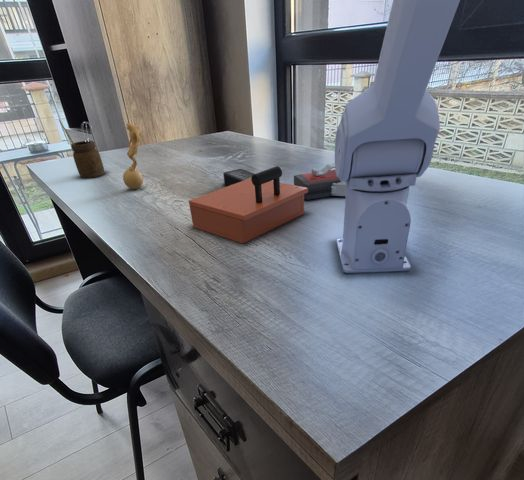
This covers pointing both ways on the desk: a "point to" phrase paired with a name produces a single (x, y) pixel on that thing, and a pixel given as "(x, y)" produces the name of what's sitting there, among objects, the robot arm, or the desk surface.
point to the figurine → (133, 158)
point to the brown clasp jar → (86, 157)
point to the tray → (246, 221)
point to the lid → (250, 195)
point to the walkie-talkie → (321, 183)
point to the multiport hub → (236, 176)
